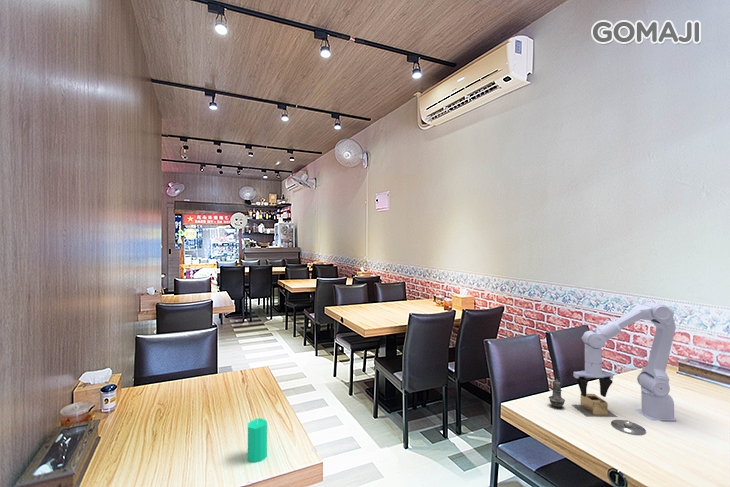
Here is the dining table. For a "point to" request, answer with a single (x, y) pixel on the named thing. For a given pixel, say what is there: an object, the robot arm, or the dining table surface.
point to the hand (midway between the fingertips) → (593, 395)
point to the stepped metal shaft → (556, 396)
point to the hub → (628, 427)
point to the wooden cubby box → (594, 404)
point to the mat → (590, 413)
